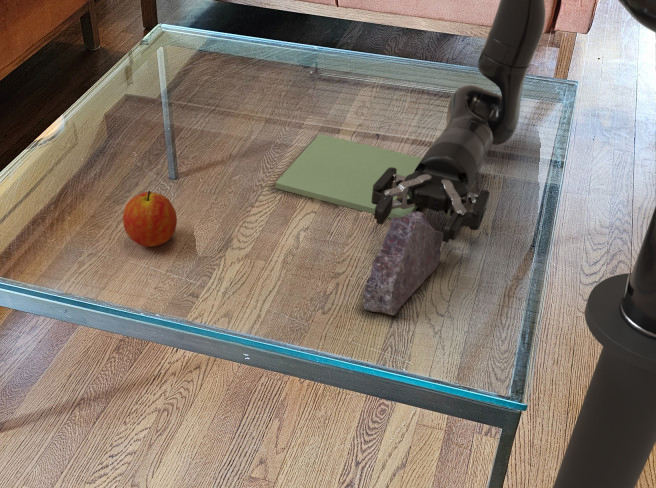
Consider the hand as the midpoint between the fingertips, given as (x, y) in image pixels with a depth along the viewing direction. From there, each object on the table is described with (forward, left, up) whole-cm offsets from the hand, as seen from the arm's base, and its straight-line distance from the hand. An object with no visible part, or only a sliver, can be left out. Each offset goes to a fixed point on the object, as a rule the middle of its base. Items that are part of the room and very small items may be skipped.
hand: (412, 227), depth 103 cm
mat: (+13, -17, -6) cm, 22 cm away
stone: (0, +3, -6) cm, 7 cm away
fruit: (+32, +10, -6) cm, 34 cm away
